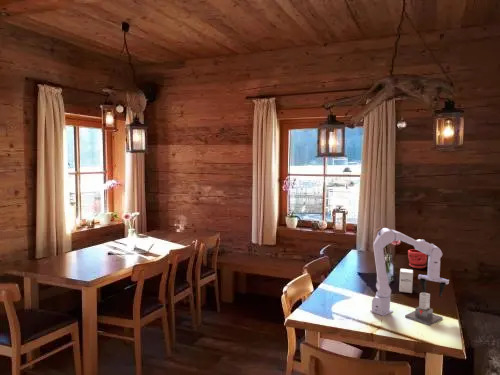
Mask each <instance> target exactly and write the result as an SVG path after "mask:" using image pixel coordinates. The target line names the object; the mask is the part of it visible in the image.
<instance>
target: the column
mask: <svg viewBox="0 0 500 375" xmlns="http://www.w3.org/2000/svg"><path fill="white" fill-rule="evenodd" d="M418 301H419V302H418V307H419V309H422V310H425V311H427V310H429V308H430V305H431V304H430V303H431V302H430V301H431V293H430V292H429V293H428V292H426V293H425V292H420V293H419V300H418Z"/></svg>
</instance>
